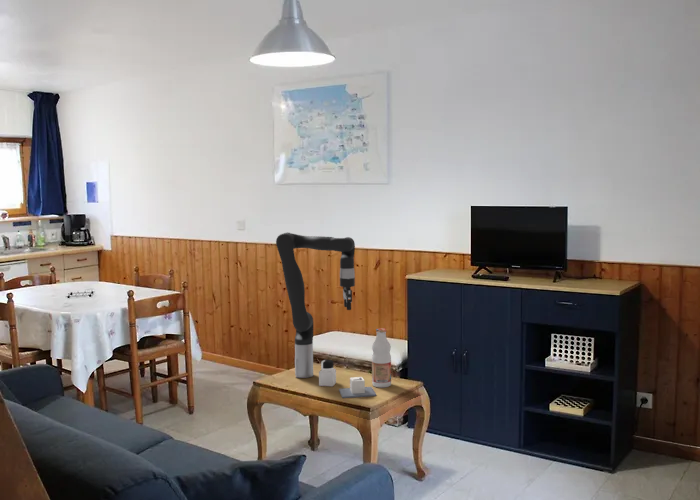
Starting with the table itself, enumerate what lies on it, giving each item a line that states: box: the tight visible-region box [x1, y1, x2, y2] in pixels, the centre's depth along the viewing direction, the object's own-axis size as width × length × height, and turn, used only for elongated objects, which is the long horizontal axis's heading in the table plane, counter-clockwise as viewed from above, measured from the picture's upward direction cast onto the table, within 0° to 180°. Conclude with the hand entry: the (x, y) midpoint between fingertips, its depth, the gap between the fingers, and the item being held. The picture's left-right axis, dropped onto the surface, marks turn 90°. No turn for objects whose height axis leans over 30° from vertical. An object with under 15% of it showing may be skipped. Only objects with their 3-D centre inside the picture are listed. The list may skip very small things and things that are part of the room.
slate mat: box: [338, 386, 377, 399], centre depth 308 cm, size 16×12×1 cm
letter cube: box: [349, 376, 366, 394], centre depth 308 cm, size 6×6×6 cm
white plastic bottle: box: [371, 327, 392, 389], centre depth 319 cm, size 9×9×28 cm
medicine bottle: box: [318, 359, 337, 387], centre depth 322 cm, size 7×7×12 cm
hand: (347, 308), depth 330 cm, fingers open, 8 cm apart
